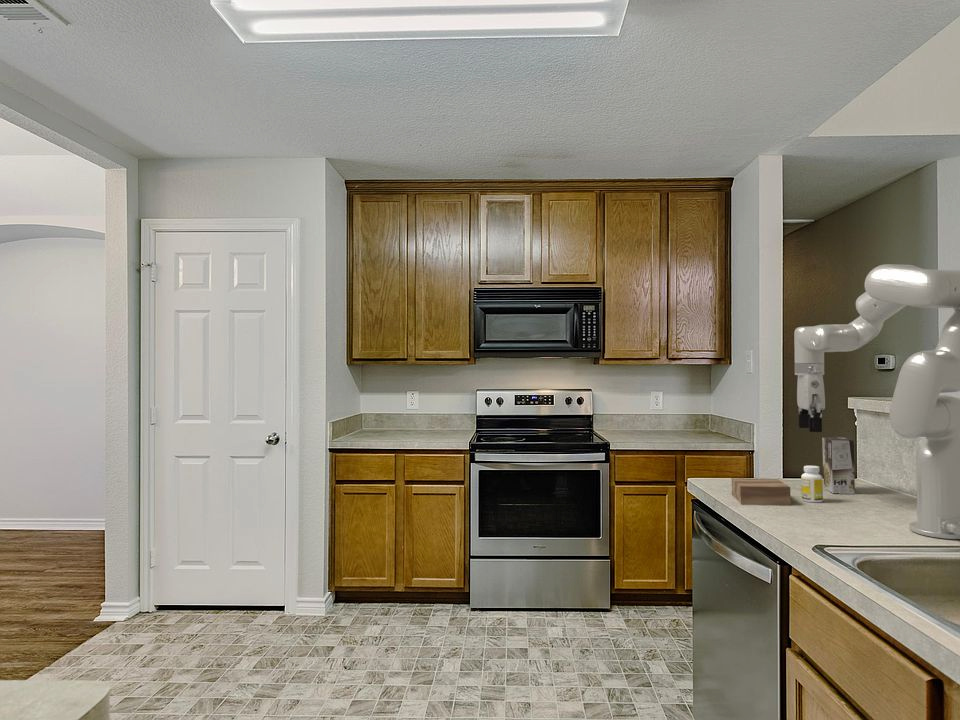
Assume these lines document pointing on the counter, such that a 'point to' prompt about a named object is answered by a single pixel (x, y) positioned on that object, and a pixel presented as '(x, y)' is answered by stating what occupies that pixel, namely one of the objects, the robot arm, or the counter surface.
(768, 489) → the walnut block
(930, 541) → the counter surface
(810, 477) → the supplement bottle
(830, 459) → the coffee box
